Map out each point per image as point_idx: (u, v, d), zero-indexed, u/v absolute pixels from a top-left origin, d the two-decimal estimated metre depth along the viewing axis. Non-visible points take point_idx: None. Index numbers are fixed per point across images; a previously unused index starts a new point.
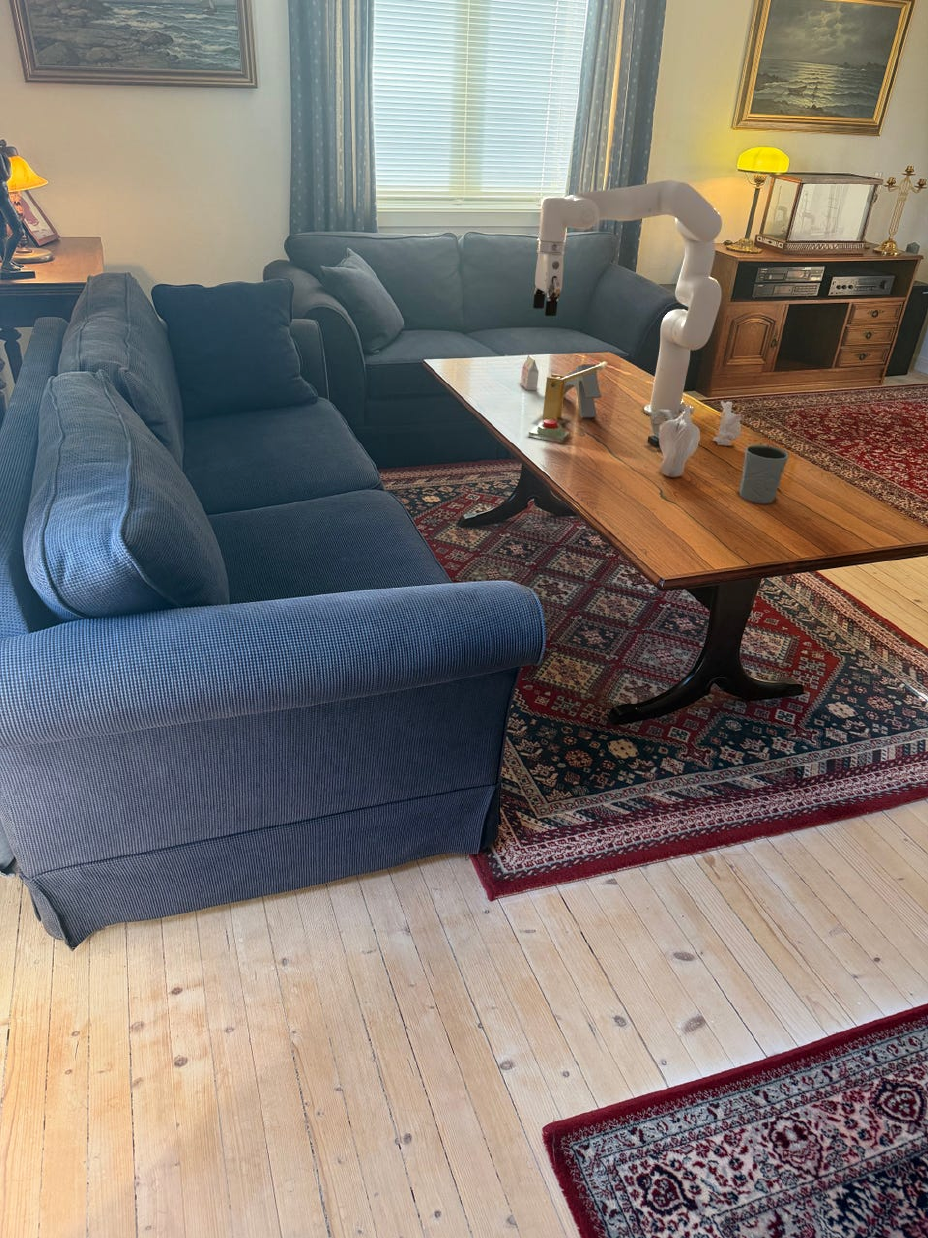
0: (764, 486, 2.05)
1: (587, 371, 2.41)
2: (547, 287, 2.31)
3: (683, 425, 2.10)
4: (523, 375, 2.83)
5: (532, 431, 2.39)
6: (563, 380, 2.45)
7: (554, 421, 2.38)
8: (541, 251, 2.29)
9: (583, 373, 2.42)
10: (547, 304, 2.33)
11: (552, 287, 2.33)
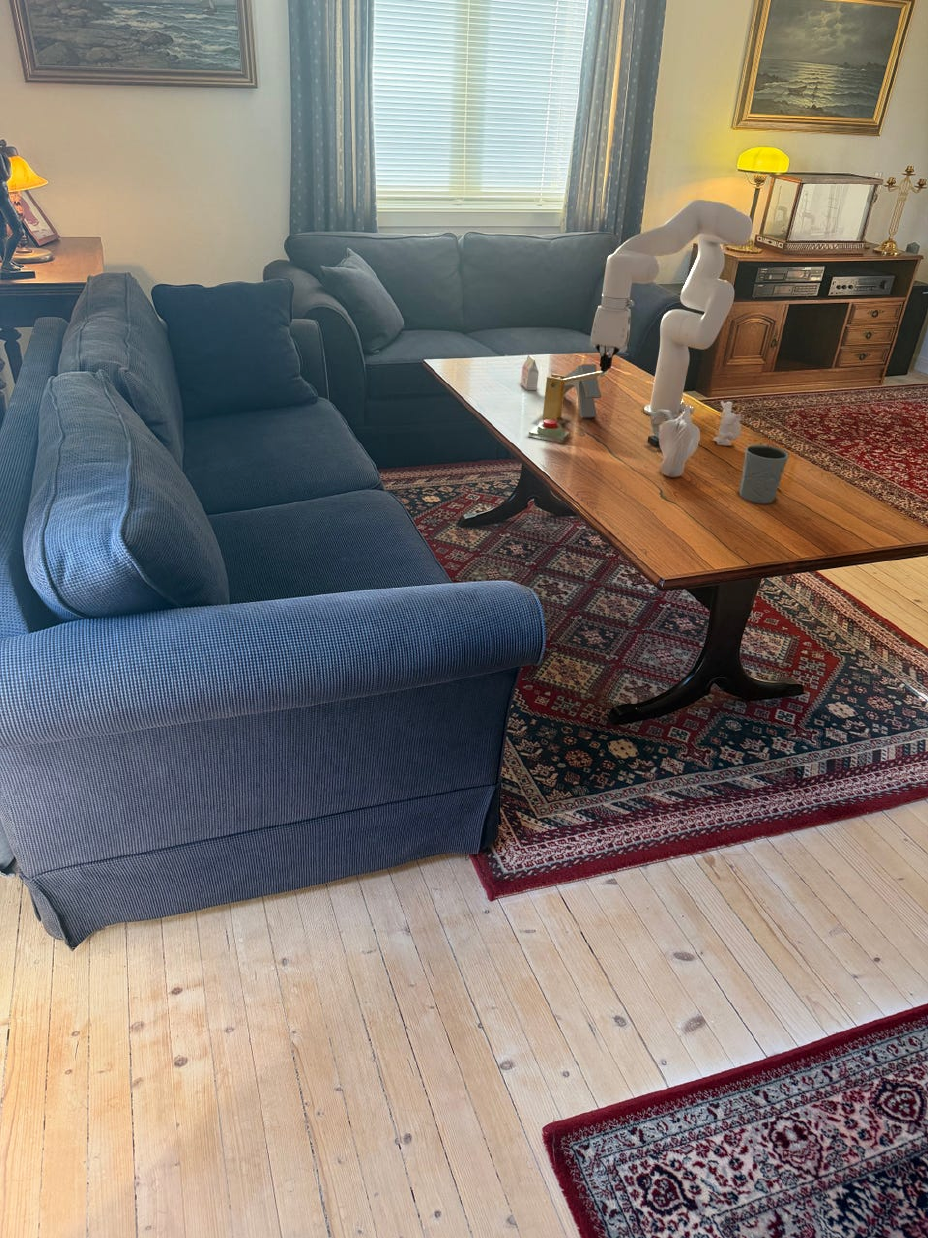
0: (764, 486, 2.05)
1: (588, 375, 2.41)
2: (624, 342, 2.32)
3: (683, 425, 2.10)
4: (523, 375, 2.83)
5: (532, 431, 2.39)
6: (563, 381, 2.45)
7: (554, 421, 2.38)
8: (617, 309, 2.27)
9: (584, 377, 2.42)
10: (607, 360, 2.36)
11: None
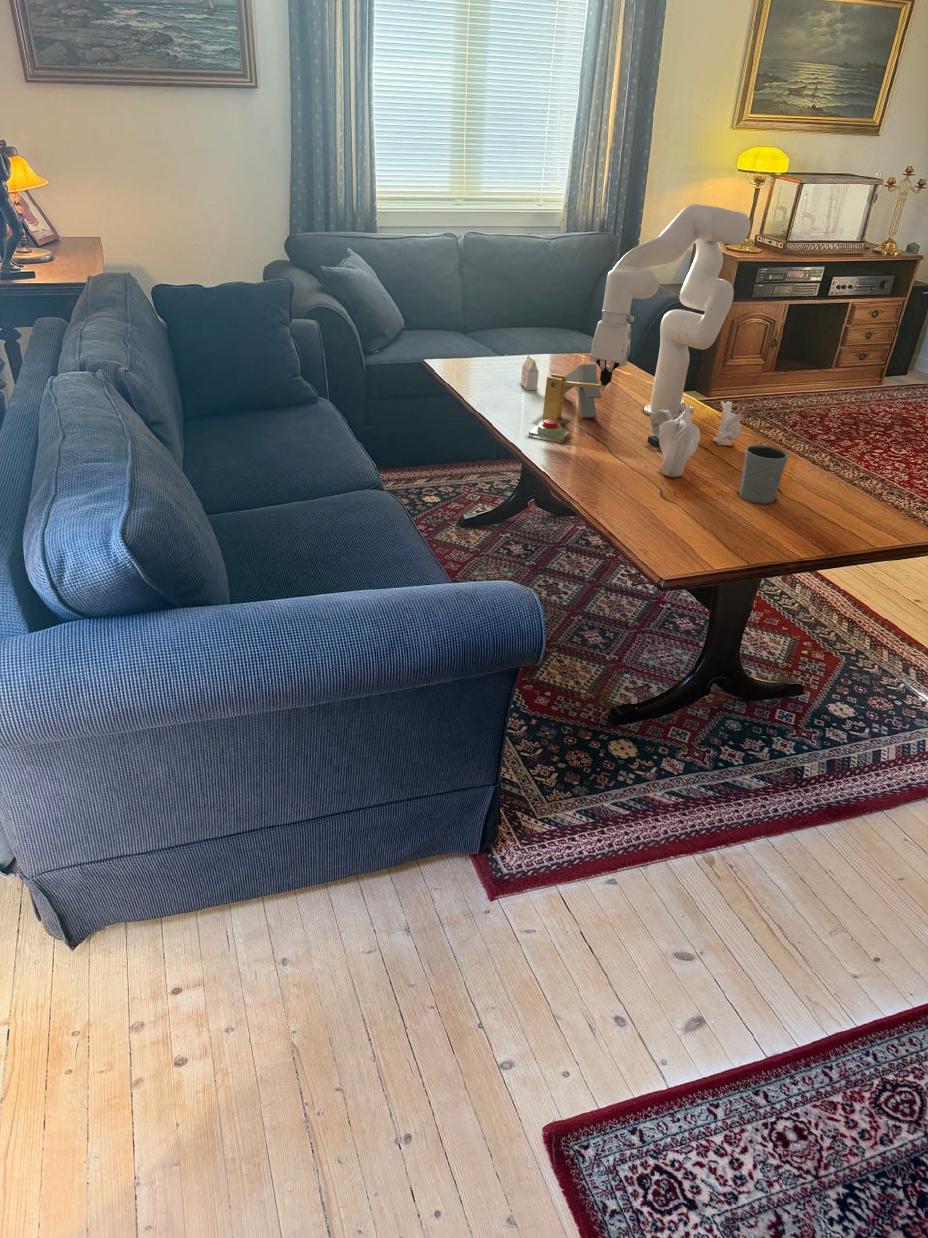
0: (764, 486, 2.05)
1: (589, 385, 2.43)
2: (624, 357, 2.34)
3: (683, 425, 2.10)
4: (523, 375, 2.83)
5: (532, 431, 2.39)
6: (563, 384, 2.46)
7: (554, 421, 2.38)
8: (617, 324, 2.29)
9: (585, 385, 2.43)
10: (607, 375, 2.38)
11: None
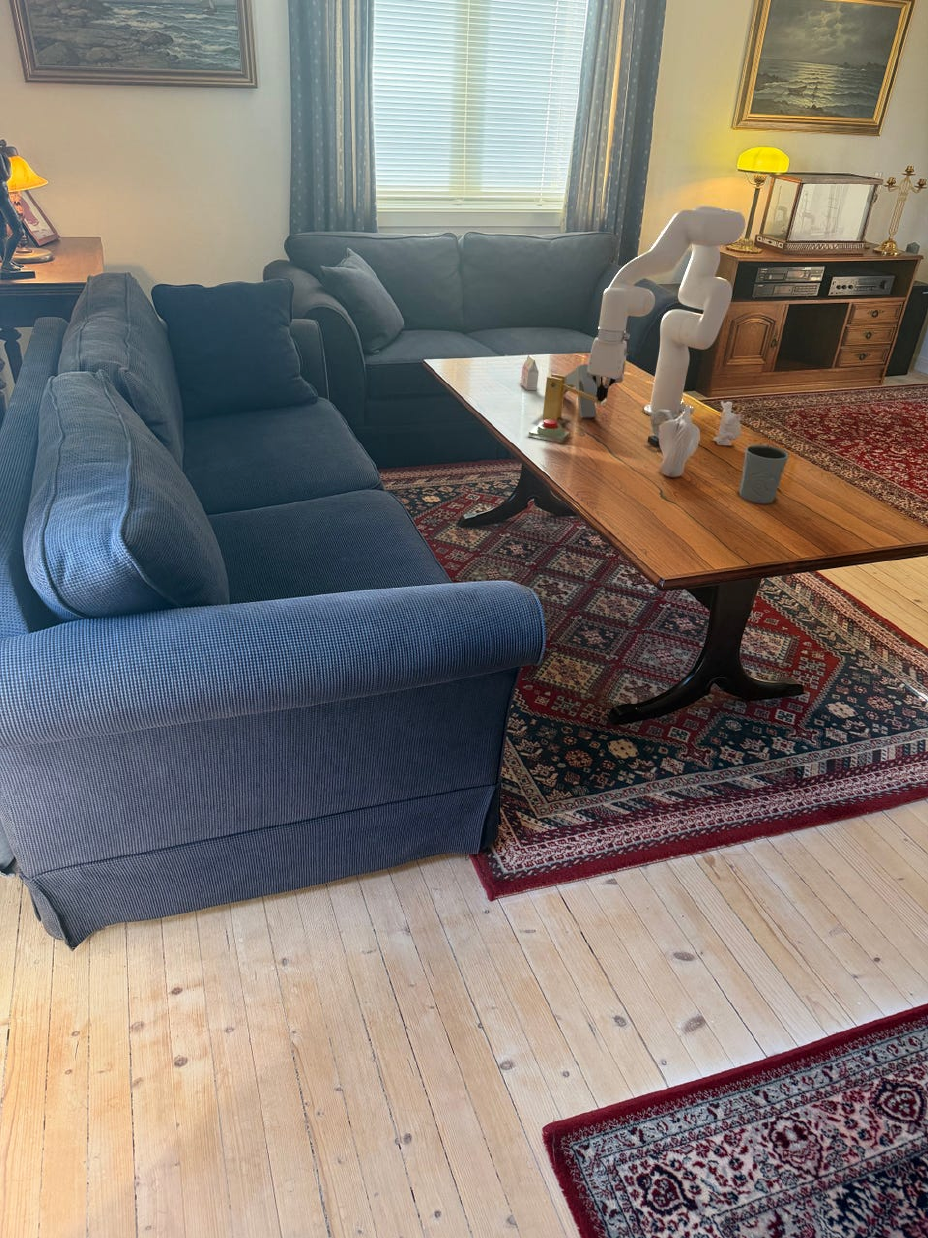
0: (764, 486, 2.05)
1: (587, 396, 2.44)
2: (620, 374, 2.36)
3: (683, 425, 2.10)
4: (523, 375, 2.83)
5: (532, 431, 2.39)
6: (563, 386, 2.46)
7: (554, 421, 2.38)
8: (613, 341, 2.31)
9: (582, 395, 2.45)
10: (604, 391, 2.41)
11: None
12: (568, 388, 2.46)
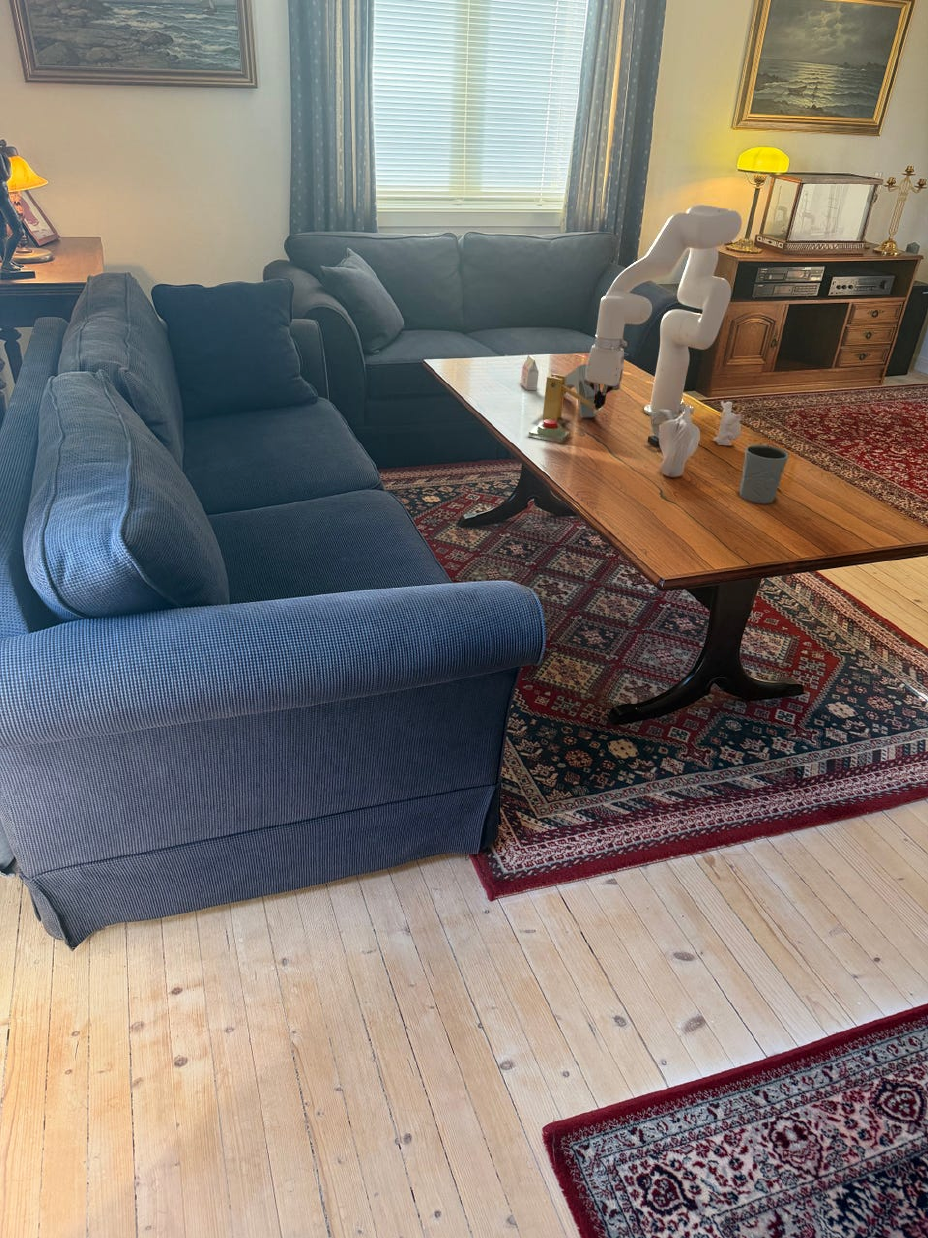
0: (764, 486, 2.05)
1: (584, 401, 2.45)
2: (617, 381, 2.37)
3: (683, 425, 2.10)
4: (523, 375, 2.83)
5: (532, 431, 2.39)
6: (562, 388, 2.46)
7: (554, 421, 2.38)
8: (610, 349, 2.33)
9: (580, 399, 2.46)
10: (601, 398, 2.42)
11: None
12: (567, 390, 2.46)
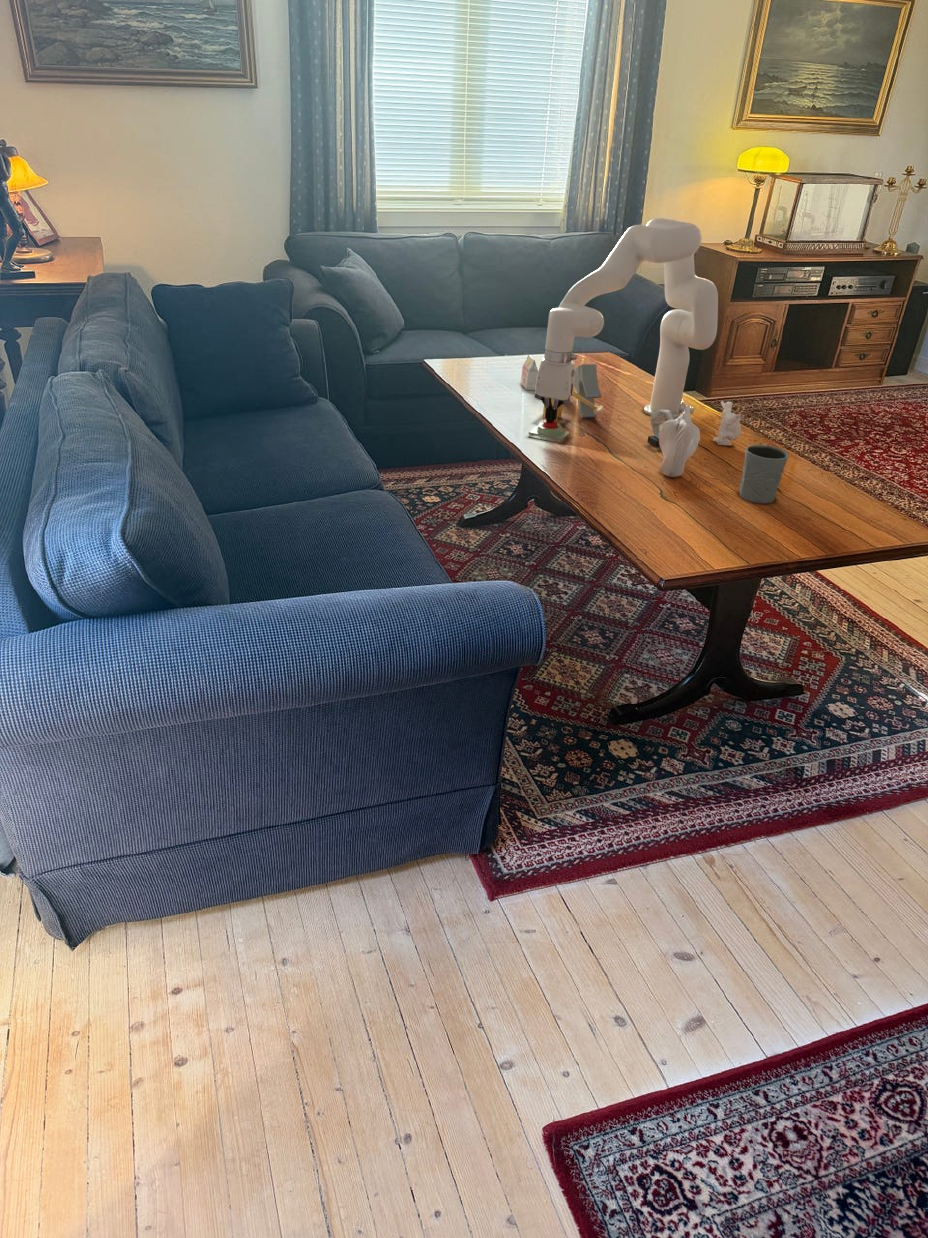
0: (764, 486, 2.05)
1: (584, 401, 2.45)
2: (568, 395, 2.31)
3: (683, 425, 2.10)
4: (523, 375, 2.83)
5: (532, 431, 2.39)
6: None
7: (554, 421, 2.38)
8: (559, 363, 2.26)
9: (580, 399, 2.46)
10: (552, 412, 2.35)
11: None
12: None
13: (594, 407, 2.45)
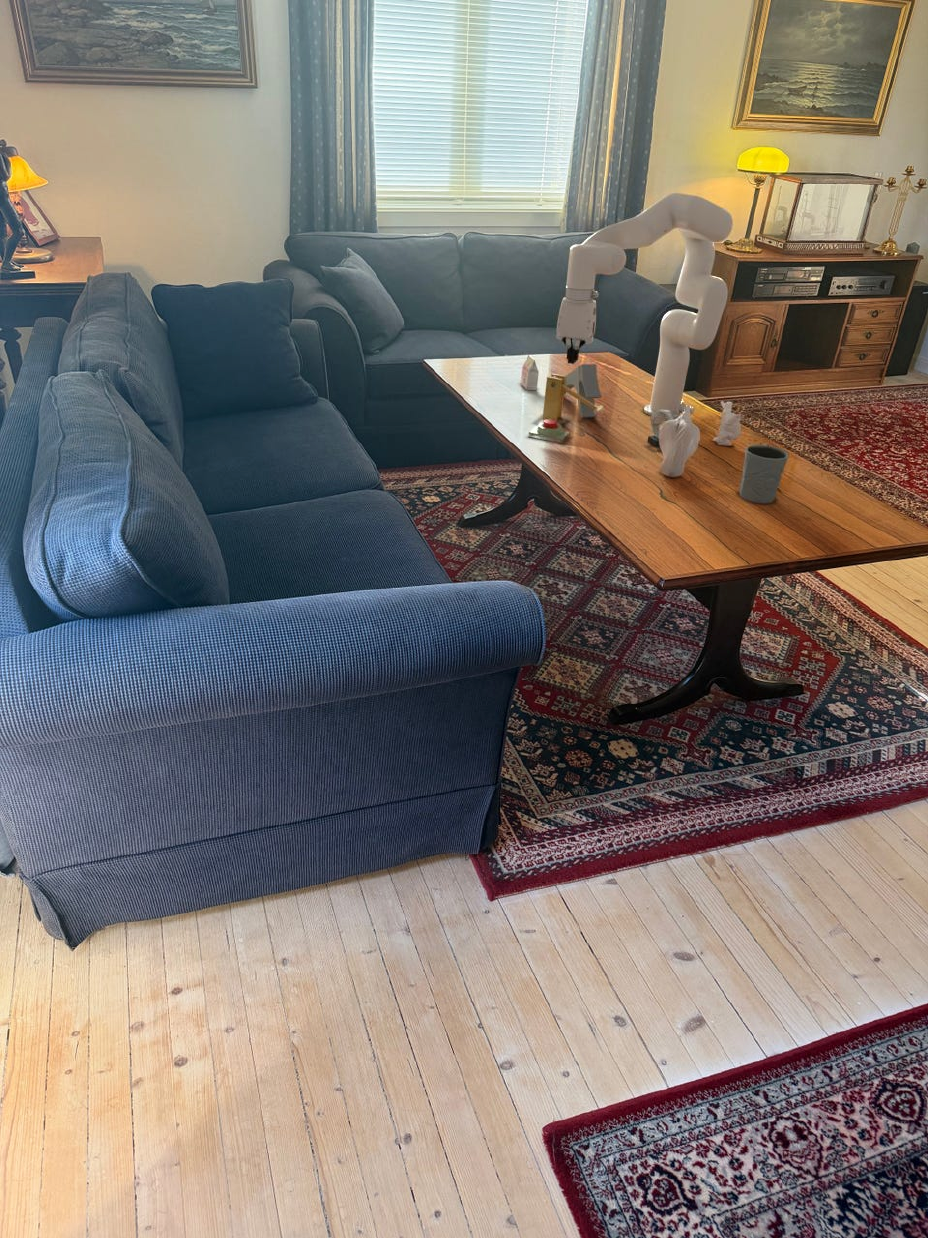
0: (764, 486, 2.05)
1: (584, 401, 2.45)
2: (590, 334, 2.29)
3: (683, 425, 2.10)
4: (523, 375, 2.83)
5: (532, 431, 2.39)
6: (562, 388, 2.46)
7: (554, 421, 2.38)
8: (581, 300, 2.24)
9: (580, 399, 2.46)
10: (574, 353, 2.33)
11: None
12: (567, 390, 2.46)
13: (594, 407, 2.45)
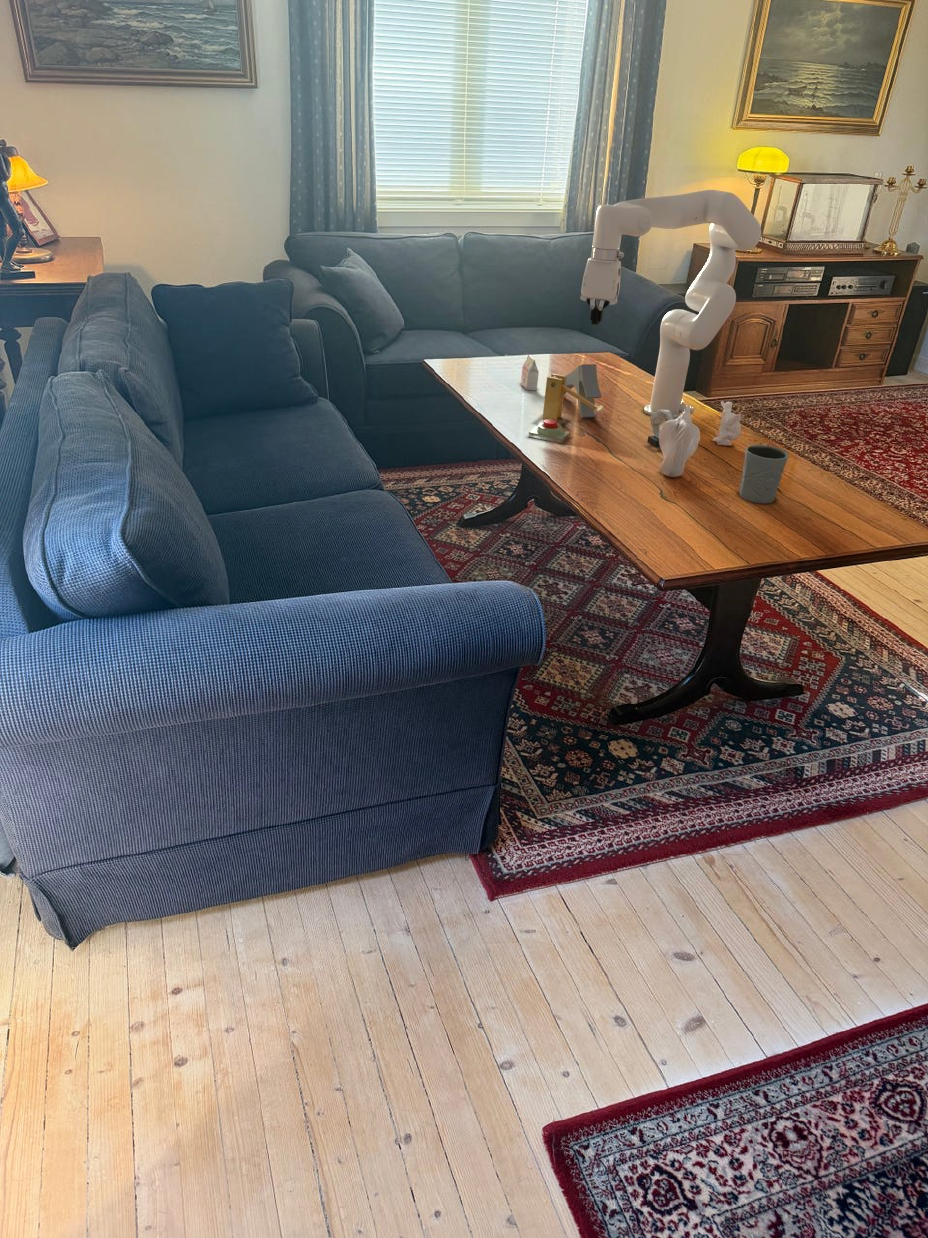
0: (764, 486, 2.05)
1: (584, 401, 2.45)
2: (614, 294, 2.32)
3: (683, 425, 2.10)
4: (523, 375, 2.83)
5: (532, 431, 2.39)
6: (562, 388, 2.46)
7: (554, 421, 2.38)
8: (606, 260, 2.28)
9: (580, 399, 2.46)
10: (598, 313, 2.37)
11: None
12: (567, 390, 2.46)
13: (594, 407, 2.45)
